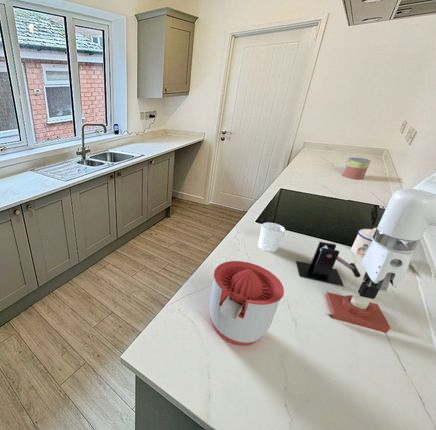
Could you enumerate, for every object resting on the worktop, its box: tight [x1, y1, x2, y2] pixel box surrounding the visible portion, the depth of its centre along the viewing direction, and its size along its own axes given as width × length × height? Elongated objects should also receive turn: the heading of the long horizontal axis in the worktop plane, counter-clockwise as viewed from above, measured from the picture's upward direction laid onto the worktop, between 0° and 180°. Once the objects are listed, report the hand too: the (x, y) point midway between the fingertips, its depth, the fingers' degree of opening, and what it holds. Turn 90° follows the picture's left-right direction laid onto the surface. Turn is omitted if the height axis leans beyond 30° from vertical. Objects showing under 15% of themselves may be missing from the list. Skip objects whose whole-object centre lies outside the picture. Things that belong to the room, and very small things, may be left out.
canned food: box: [342, 157, 372, 180], centre depth 178 cm, size 11×11×12 cm
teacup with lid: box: [350, 227, 377, 259], centre depth 97 cm, size 12×9×12 cm
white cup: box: [257, 222, 286, 253], centre depth 103 cm, size 8×8×10 cm
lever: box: [320, 245, 362, 278], centre depth 85 cm, size 12×6×2 cm
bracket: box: [295, 241, 345, 287], centre depth 88 cm, size 12×9×12 cm
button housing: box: [325, 291, 391, 334], centre depth 74 cm, size 12×9×4 cm
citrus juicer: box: [209, 260, 285, 347], centre depth 67 cm, size 16×17×20 cm
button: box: [350, 295, 370, 309], centre depth 73 cm, size 4×4×2 cm
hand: (365, 295), depth 72 cm, fingers closed
